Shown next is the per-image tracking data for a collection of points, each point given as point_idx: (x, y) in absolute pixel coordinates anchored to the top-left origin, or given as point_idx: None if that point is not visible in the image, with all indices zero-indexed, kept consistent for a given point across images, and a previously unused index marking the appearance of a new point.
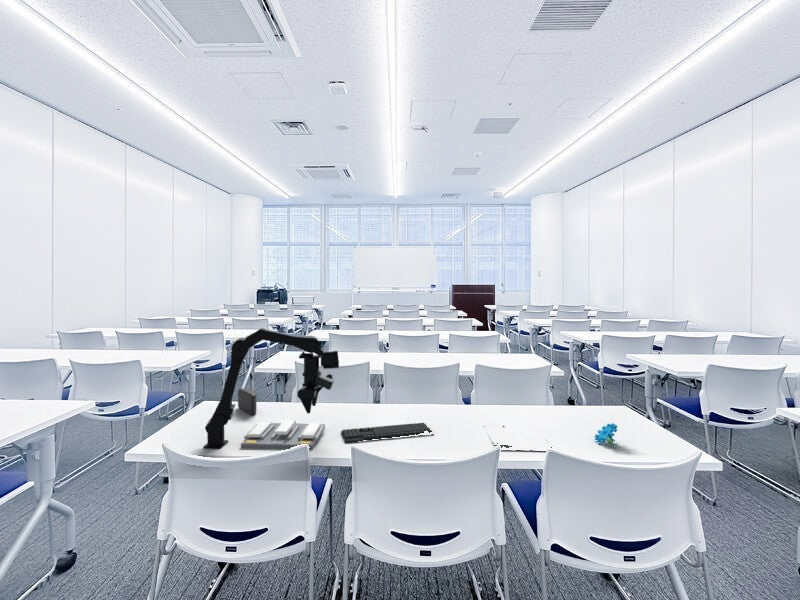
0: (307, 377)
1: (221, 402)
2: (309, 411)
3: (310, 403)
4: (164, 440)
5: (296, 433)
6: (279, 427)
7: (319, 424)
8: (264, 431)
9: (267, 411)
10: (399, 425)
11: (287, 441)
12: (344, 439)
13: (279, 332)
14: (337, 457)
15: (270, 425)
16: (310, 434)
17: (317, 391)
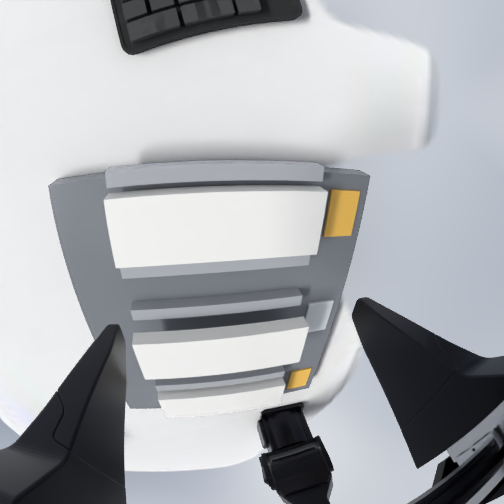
0: None
1: (328, 499)
2: (378, 309)
3: (452, 350)
4: (250, 456)
5: (217, 289)
6: (253, 366)
7: (128, 200)
8: (234, 386)
9: (25, 402)
10: None
11: (316, 290)
12: (277, 17)
13: None
14: (428, 73)
15: (165, 391)
16: (316, 210)
17: (70, 478)
